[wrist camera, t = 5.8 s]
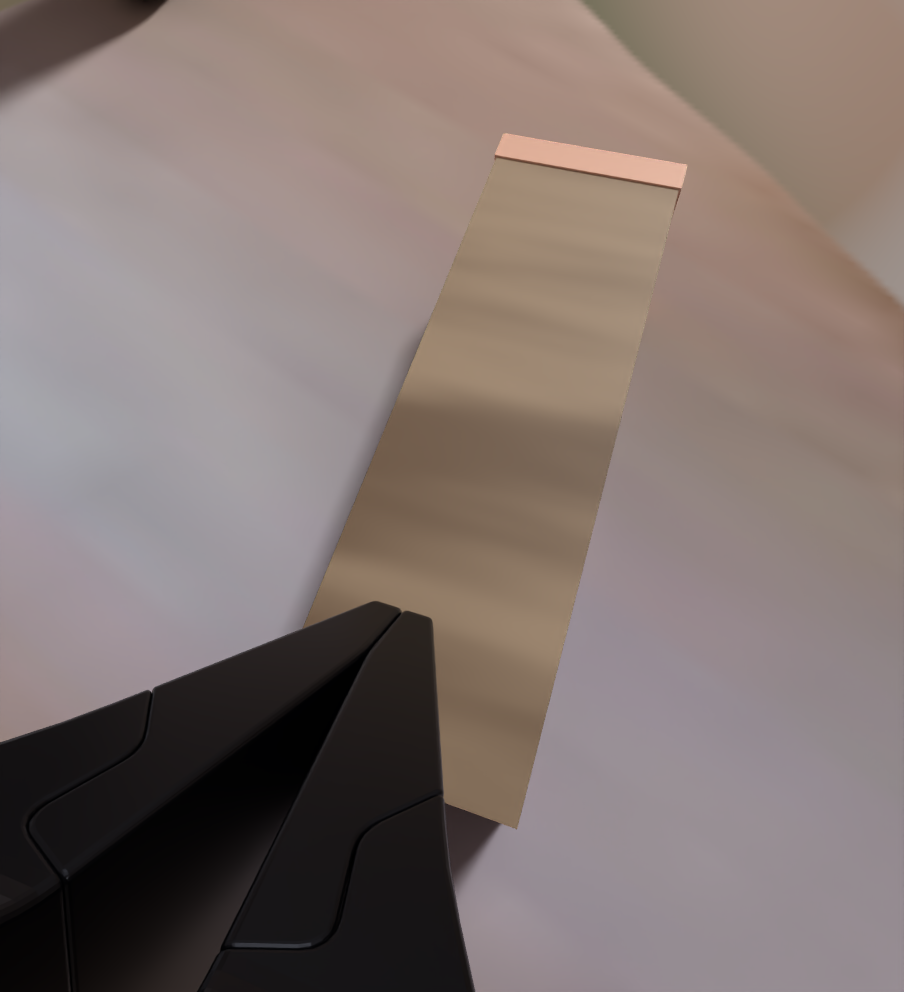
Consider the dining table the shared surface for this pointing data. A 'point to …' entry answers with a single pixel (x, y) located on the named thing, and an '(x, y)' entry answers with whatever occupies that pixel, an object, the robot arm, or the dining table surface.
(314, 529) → the dining table surface
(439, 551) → the wooden block
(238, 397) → the dining table surface
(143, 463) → the dining table surface
